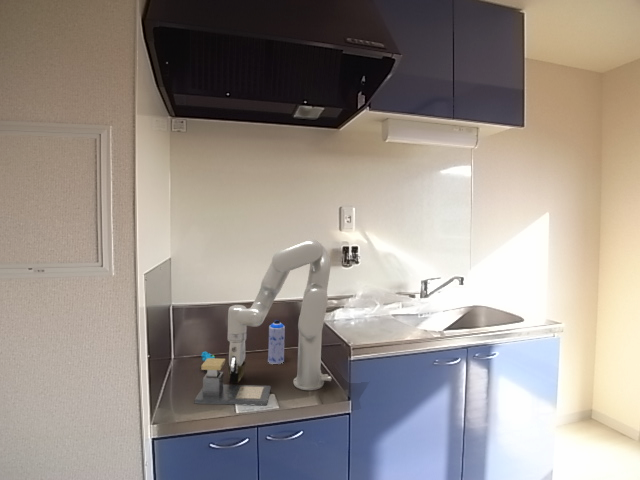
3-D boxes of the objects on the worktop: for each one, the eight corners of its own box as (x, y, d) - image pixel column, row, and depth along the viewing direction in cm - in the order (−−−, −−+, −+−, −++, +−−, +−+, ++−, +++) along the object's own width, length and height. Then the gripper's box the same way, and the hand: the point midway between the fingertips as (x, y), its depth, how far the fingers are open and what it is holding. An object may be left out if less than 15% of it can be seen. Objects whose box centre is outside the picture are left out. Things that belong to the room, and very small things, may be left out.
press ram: (225, 378, 136) (225, 358, 135) (220, 387, 129) (220, 366, 128) (206, 378, 136) (207, 358, 135) (201, 386, 129) (201, 365, 128)
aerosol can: (287, 359, 169) (288, 319, 168) (279, 365, 162) (280, 323, 161) (273, 356, 172) (274, 316, 171) (264, 362, 165) (265, 320, 164)
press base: (270, 389, 139) (271, 369, 138) (266, 405, 127) (266, 383, 126) (204, 387, 139) (205, 367, 138) (194, 403, 127) (194, 381, 126)
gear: (216, 370, 151) (200, 353, 151) (205, 380, 150) (190, 363, 151) (223, 363, 162) (208, 347, 162) (213, 372, 161) (199, 356, 162)
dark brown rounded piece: (246, 377, 148) (247, 359, 148) (243, 385, 141) (243, 366, 141) (229, 377, 148) (229, 358, 148) (224, 385, 141) (225, 366, 141)
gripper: (241, 343, 135) (240, 388, 136) (250, 329, 152) (249, 369, 153) (222, 342, 135) (221, 387, 136) (233, 329, 152) (232, 369, 153)
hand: (236, 377), depth 145 cm, fingers closed on dark brown rounded piece, 6 cm apart
